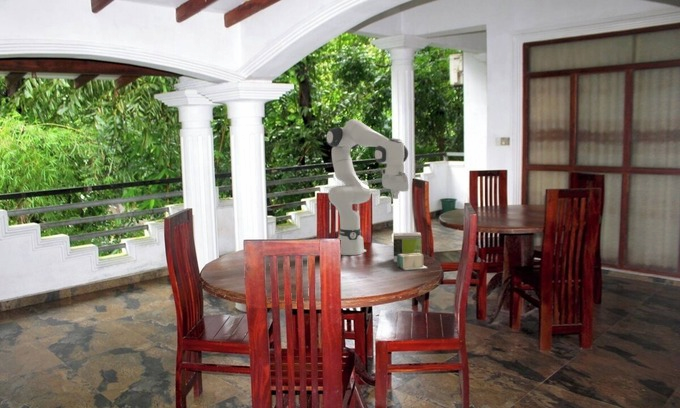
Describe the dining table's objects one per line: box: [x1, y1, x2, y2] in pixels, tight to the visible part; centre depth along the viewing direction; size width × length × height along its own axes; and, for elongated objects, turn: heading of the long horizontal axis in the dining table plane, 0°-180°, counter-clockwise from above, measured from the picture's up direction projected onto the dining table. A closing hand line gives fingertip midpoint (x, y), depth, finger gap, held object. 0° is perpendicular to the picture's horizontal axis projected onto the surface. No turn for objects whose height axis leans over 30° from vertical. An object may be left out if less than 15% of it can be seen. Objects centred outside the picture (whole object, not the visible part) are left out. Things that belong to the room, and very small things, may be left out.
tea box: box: [392, 231, 423, 263], centre depth 316 cm, size 15×10×15 cm, turn 84°
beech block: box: [396, 253, 425, 269], centre depth 303 cm, size 6×6×12 cm
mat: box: [402, 264, 428, 271], centre depth 303 cm, size 11×12×1 cm
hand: (395, 198), depth 300 cm, fingers closed
